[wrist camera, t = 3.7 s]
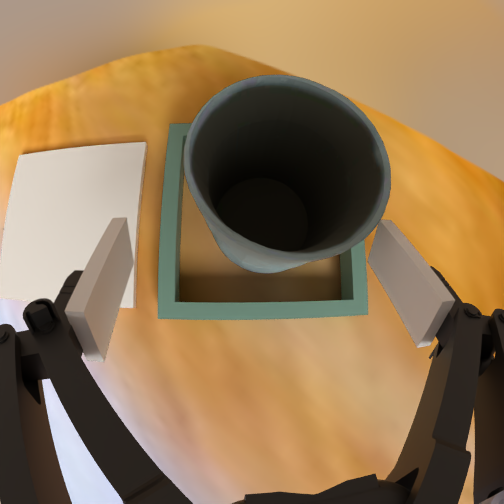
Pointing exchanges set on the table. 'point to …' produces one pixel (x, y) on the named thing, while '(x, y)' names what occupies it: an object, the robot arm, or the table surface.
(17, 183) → the ceramic tile
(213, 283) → the table surface
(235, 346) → the table surface
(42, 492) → the robot arm
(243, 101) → the grey-green cup
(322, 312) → the square holder
